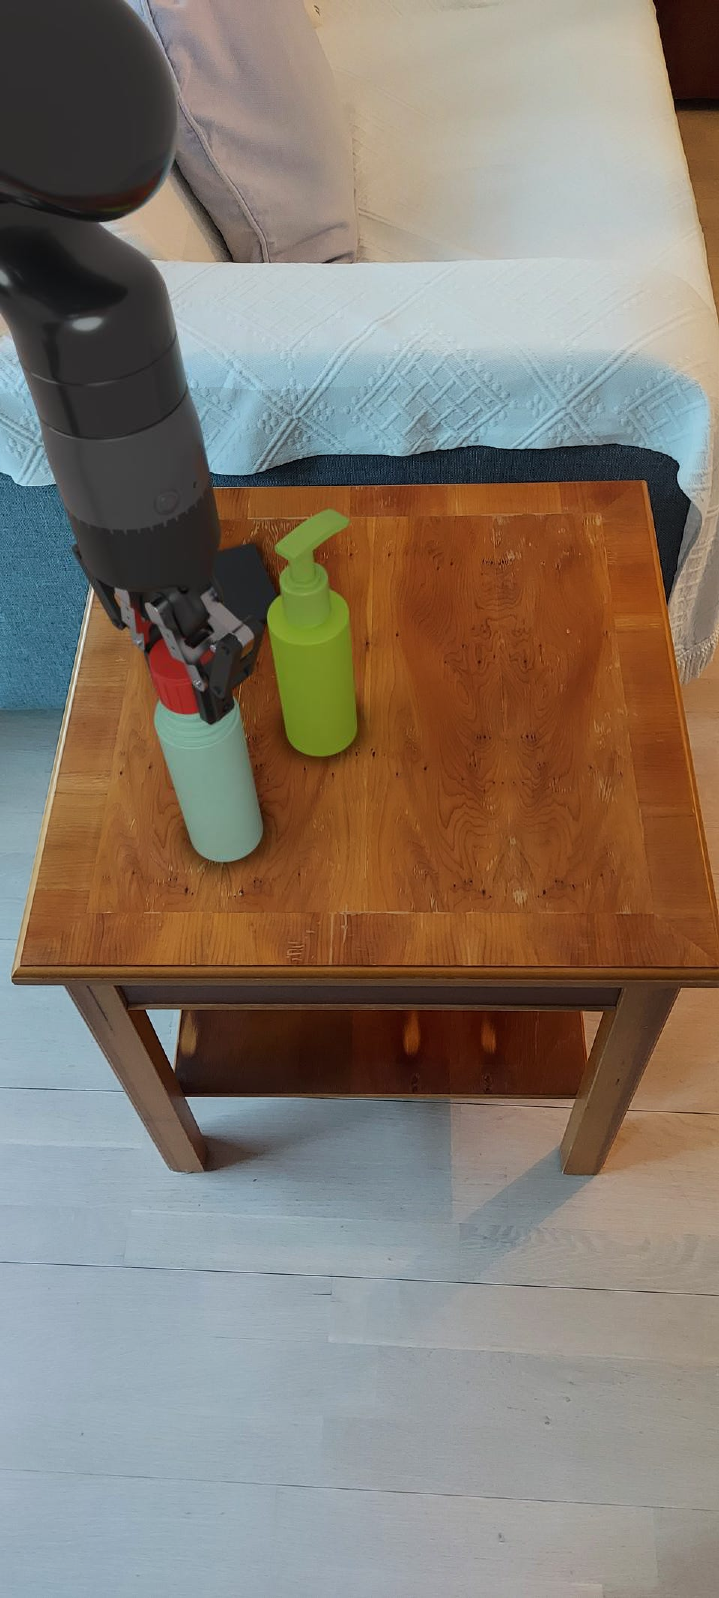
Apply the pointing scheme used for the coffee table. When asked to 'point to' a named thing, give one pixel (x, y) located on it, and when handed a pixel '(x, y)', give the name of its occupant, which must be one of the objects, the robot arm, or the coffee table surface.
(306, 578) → the soap dispenser
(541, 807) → the coffee table surface
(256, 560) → the mat
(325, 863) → the coffee table surface
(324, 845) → the coffee table surface
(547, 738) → the coffee table surface
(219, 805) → the bottle
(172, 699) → the cap
